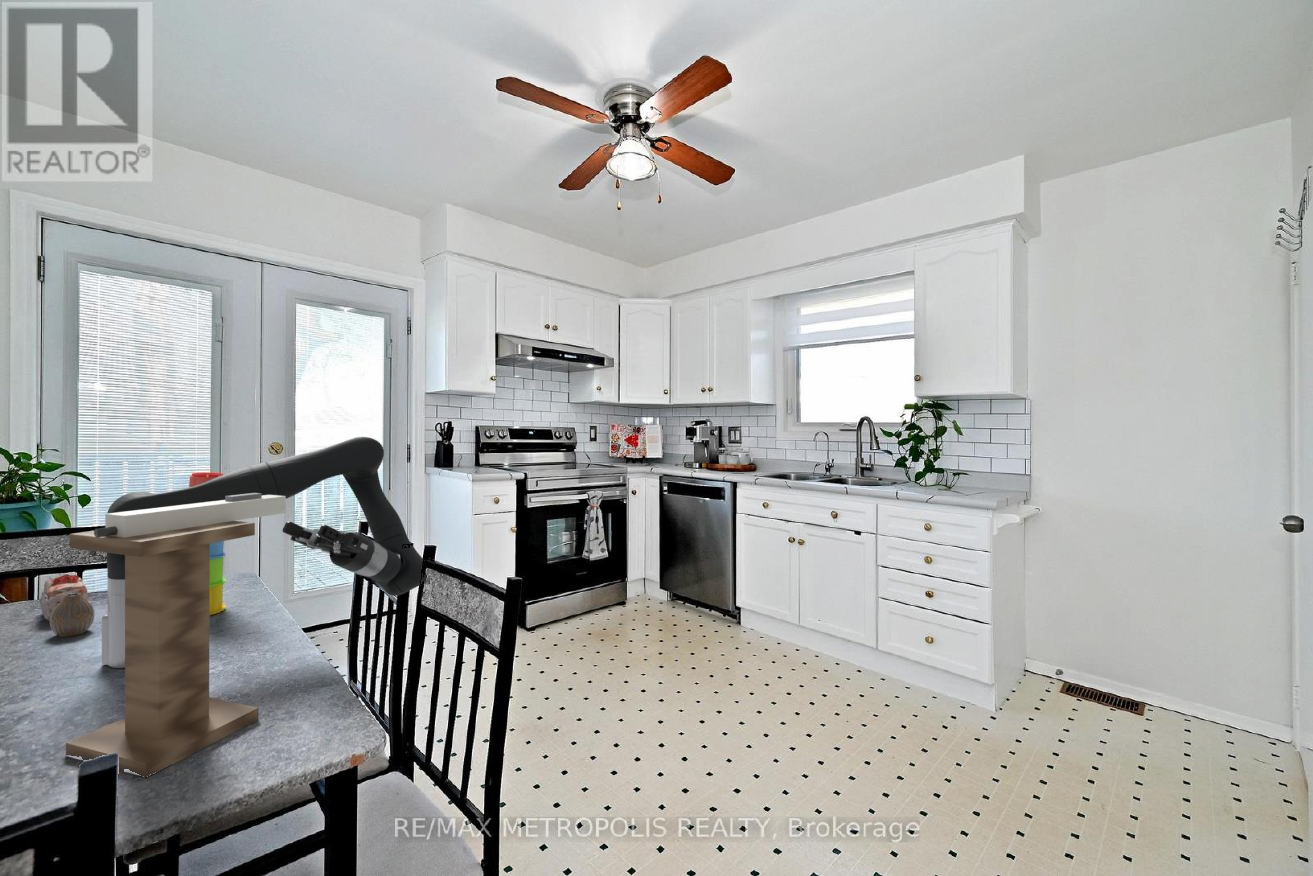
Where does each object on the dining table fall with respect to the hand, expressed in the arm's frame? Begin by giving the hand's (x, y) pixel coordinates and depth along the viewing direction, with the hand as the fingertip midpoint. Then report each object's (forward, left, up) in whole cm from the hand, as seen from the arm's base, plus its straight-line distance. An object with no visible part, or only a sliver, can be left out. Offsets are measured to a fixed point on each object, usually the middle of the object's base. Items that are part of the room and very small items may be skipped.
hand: (303, 527), depth 108 cm
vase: (-60, +21, -28) cm, 70 cm away
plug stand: (-8, -22, -28) cm, 36 cm away
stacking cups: (-43, +35, -28) cm, 62 cm away
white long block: (-6, -17, +4) cm, 19 cm away
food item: (-72, +33, -28) cm, 84 cm away
